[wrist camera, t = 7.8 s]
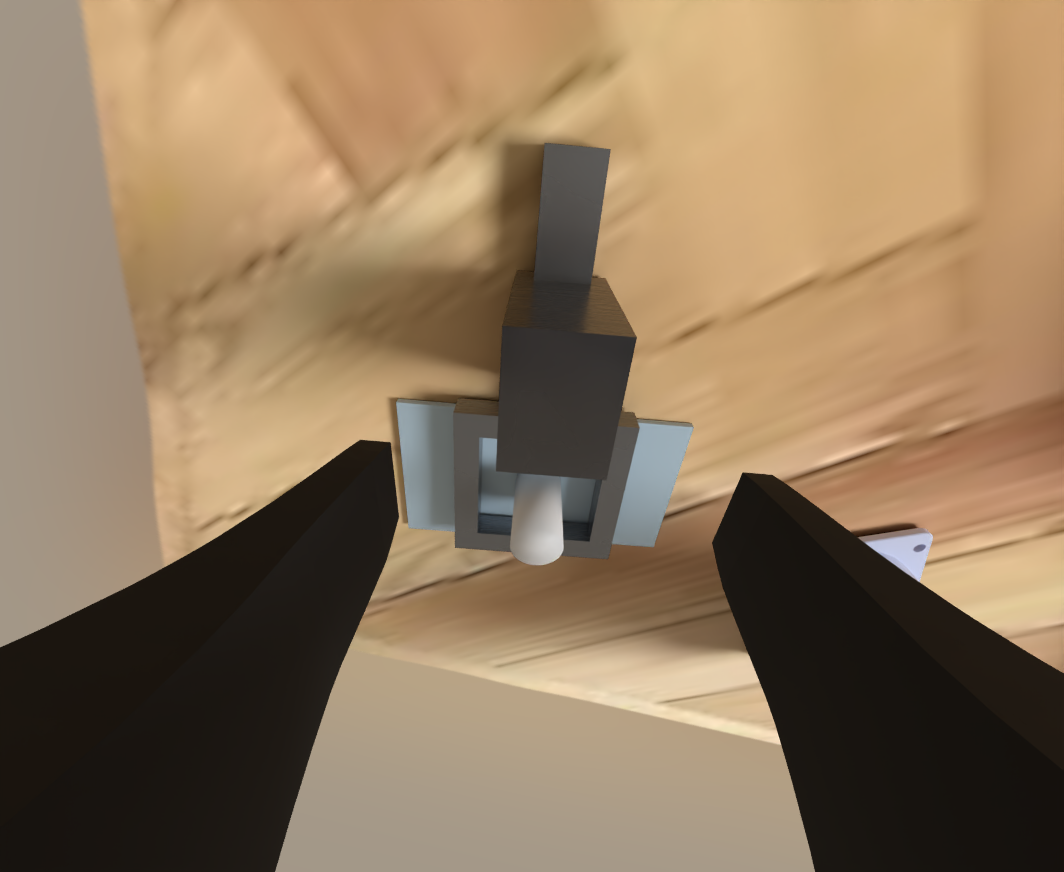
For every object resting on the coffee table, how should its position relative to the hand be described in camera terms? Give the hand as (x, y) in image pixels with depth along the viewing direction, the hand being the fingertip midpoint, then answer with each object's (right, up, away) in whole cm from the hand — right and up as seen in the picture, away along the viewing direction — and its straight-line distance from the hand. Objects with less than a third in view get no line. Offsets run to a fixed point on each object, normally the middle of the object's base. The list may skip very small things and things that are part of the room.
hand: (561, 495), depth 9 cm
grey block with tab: (0, +3, +8) cm, 8 cm away
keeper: (0, -1, +11) cm, 11 cm away
